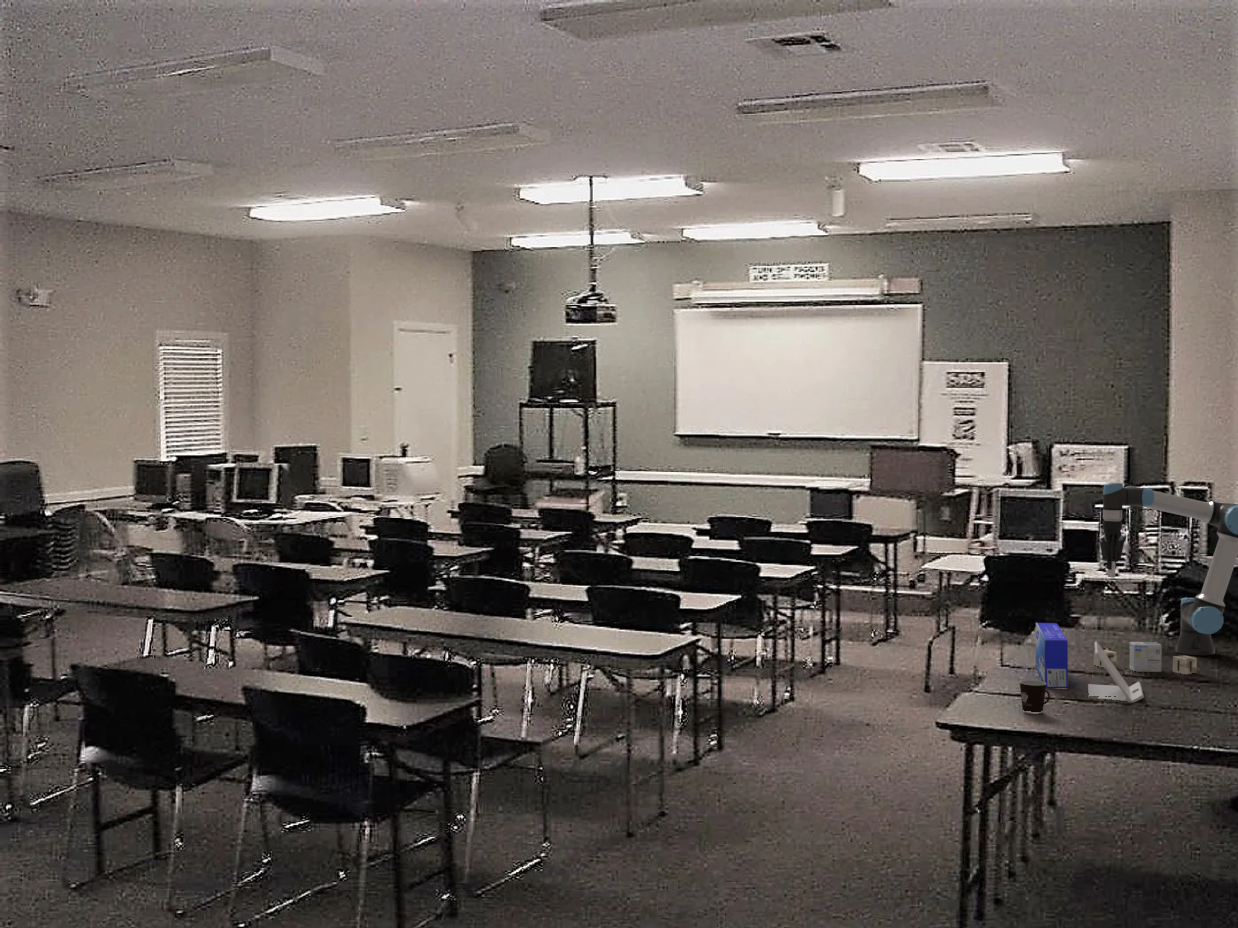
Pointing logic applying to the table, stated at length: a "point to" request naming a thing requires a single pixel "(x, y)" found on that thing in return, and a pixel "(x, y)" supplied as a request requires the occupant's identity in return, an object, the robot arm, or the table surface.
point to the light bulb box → (1145, 656)
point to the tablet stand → (1122, 689)
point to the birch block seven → (1111, 656)
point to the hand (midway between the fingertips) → (1111, 577)
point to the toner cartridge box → (1052, 655)
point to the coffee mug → (1033, 695)
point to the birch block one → (1184, 664)
